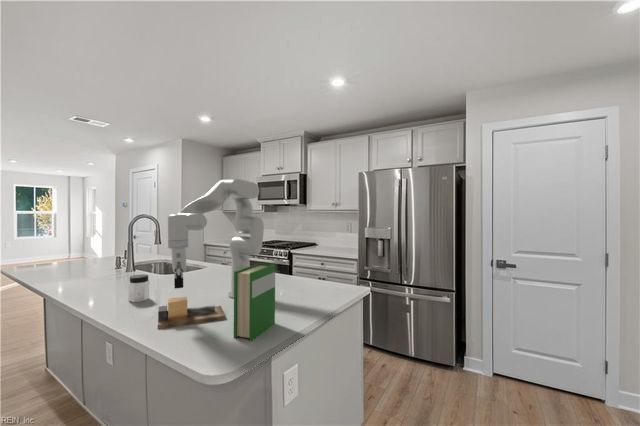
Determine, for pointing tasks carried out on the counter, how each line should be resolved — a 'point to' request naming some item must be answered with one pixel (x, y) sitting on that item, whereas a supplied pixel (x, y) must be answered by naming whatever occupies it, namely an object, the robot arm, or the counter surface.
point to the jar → (138, 288)
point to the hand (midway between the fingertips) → (178, 284)
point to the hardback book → (254, 300)
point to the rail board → (190, 316)
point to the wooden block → (177, 308)
